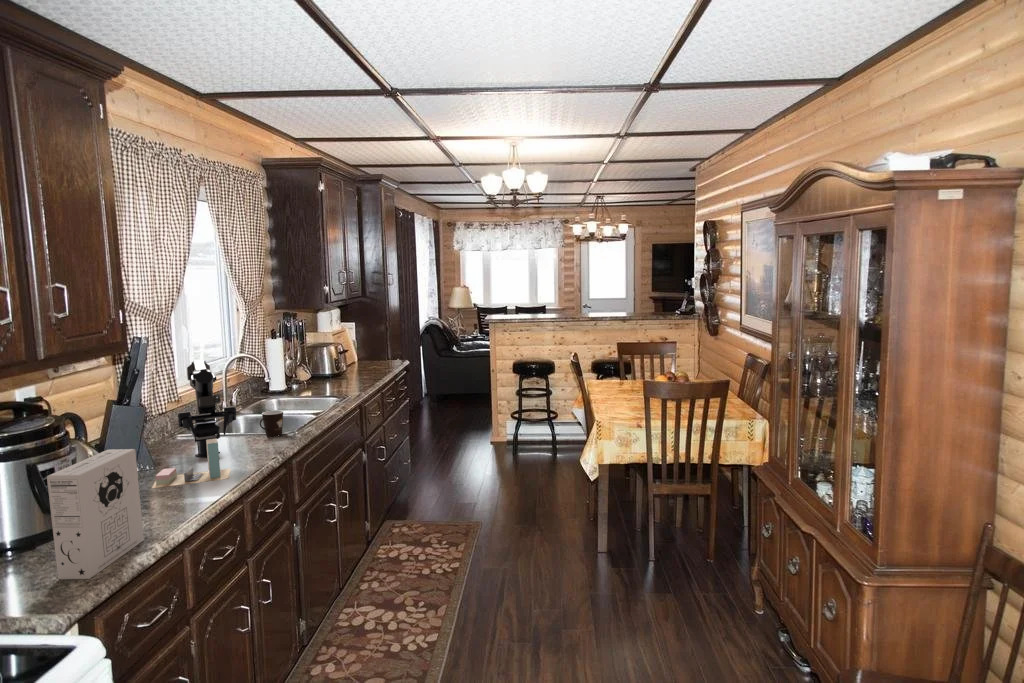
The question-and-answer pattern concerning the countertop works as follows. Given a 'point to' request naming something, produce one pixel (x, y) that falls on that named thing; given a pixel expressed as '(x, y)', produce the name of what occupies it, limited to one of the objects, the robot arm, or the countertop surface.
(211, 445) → the boxed book
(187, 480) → the metal bookend
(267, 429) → the coffee mug
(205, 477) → the shelf plank
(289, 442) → the countertop surface
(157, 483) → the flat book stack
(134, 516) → the cereal box
